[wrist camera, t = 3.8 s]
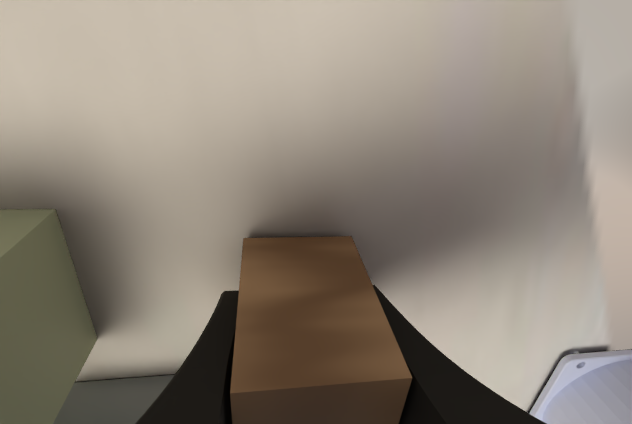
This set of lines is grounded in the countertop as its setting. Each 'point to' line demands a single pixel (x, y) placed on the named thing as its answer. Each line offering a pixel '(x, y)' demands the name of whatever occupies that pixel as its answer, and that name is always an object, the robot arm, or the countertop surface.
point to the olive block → (38, 318)
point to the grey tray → (111, 400)
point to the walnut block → (312, 338)
